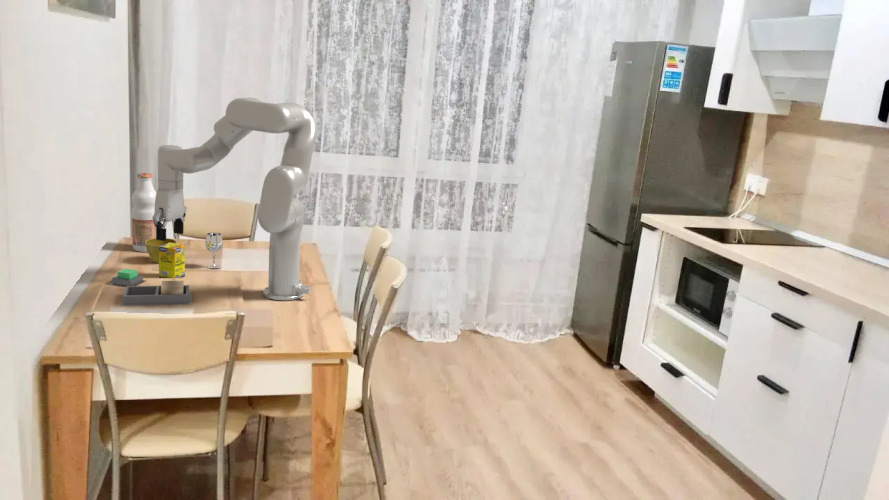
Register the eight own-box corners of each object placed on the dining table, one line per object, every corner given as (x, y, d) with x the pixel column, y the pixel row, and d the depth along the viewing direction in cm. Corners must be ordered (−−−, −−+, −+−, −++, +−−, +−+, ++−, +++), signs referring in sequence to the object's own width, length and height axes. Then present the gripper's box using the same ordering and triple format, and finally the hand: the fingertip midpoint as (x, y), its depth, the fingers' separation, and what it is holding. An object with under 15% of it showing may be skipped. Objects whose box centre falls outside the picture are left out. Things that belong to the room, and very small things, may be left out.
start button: (137, 277, 215) (137, 270, 214) (129, 281, 211) (129, 273, 211) (126, 276, 216) (125, 268, 215) (117, 279, 212) (117, 271, 211)
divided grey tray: (191, 294, 211) (191, 284, 210) (191, 307, 201) (191, 296, 200) (124, 296, 205) (123, 285, 204) (120, 309, 195) (119, 297, 194)
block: (183, 294, 208) (183, 280, 207) (183, 301, 202) (183, 286, 201) (162, 295, 206) (162, 280, 205) (161, 301, 200) (160, 287, 199)
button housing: (147, 283, 217) (147, 274, 216) (131, 291, 210) (131, 281, 209) (124, 280, 219) (124, 271, 218) (108, 287, 211) (107, 278, 210)
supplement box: (175, 281, 222) (174, 248, 219) (158, 278, 223) (157, 246, 220) (185, 276, 228) (185, 244, 225) (169, 273, 229) (168, 242, 226)
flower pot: (163, 267, 235) (163, 247, 233) (139, 262, 237) (138, 242, 236) (182, 260, 244) (182, 240, 242) (158, 255, 247) (158, 236, 245)
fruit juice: (128, 247, 253) (126, 172, 246) (154, 244, 260) (152, 171, 253) (138, 253, 247) (136, 176, 240) (164, 250, 254) (163, 175, 246)
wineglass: (209, 270, 236) (209, 236, 233) (202, 266, 240) (202, 232, 237) (225, 268, 239) (225, 235, 236) (218, 264, 244) (218, 231, 240)
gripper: (175, 179, 226) (174, 229, 231) (143, 187, 210) (143, 240, 214) (196, 182, 225) (195, 232, 230) (165, 190, 209) (165, 244, 213)
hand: (170, 236), depth 222 cm, fingers open, 9 cm apart
